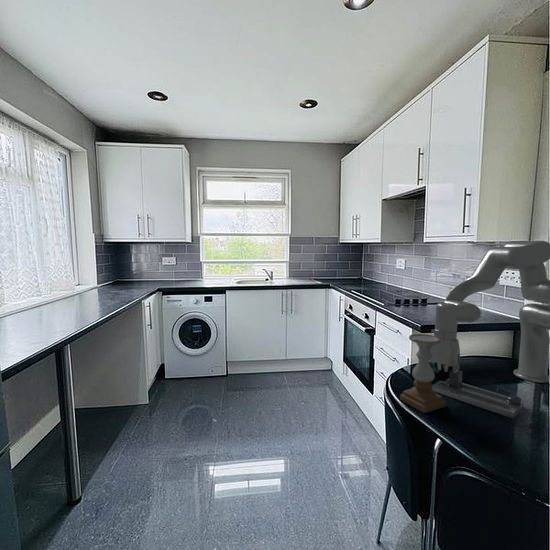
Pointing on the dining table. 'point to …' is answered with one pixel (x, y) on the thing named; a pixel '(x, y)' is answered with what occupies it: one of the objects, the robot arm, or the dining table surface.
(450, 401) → the dining table surface
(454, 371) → the fader tab
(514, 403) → the console
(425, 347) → the candle holder
